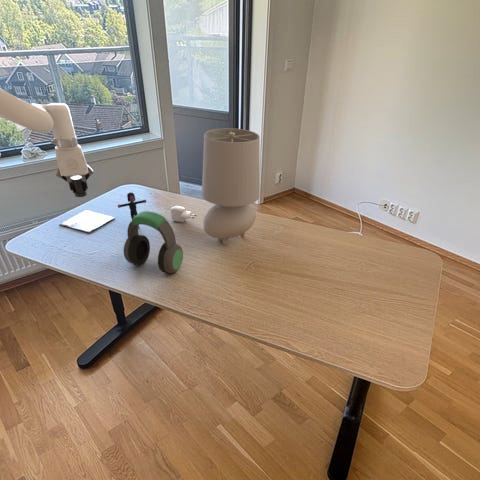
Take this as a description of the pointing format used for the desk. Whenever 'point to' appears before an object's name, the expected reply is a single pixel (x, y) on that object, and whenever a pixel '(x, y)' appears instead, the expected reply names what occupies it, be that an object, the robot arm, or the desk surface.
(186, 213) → the power adapter
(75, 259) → the desk surface
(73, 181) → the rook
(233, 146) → the table lamp
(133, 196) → the figurine
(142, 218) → the headphones
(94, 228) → the board
